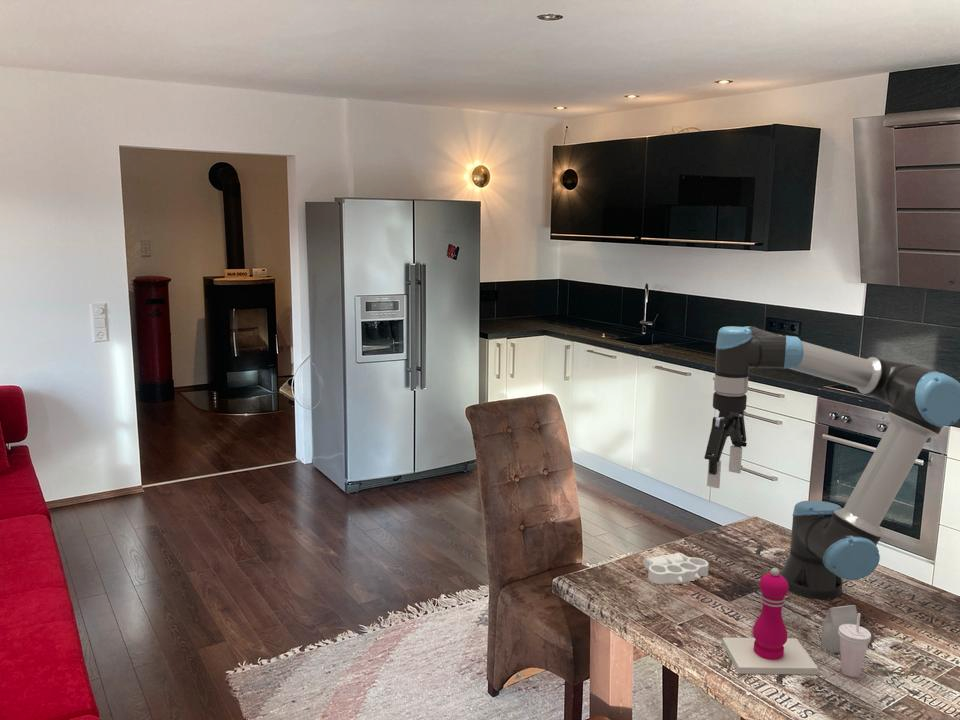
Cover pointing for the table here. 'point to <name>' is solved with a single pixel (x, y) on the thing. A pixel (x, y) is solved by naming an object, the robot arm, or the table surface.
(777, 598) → the pepper mill
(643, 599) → the table surface
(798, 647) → the cutting board
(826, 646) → the tea bag
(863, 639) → the smoothie
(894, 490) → the robot arm
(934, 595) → the table surface
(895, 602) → the table surface
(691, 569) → the knuckle duster
